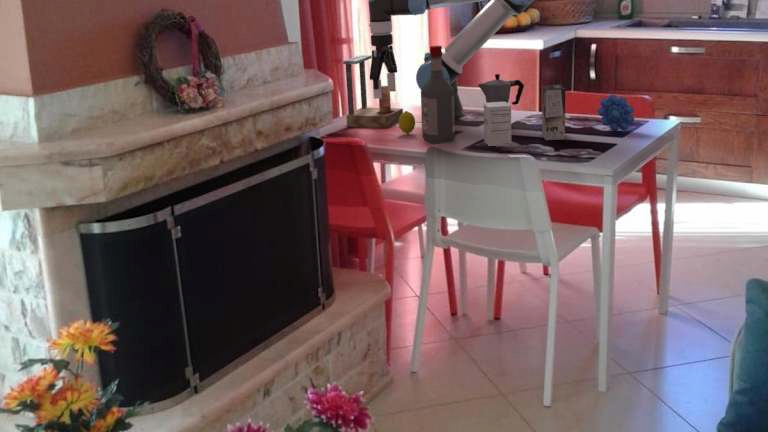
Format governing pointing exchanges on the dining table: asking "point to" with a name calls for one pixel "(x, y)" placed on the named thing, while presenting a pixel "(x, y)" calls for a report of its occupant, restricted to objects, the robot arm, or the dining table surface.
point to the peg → (385, 100)
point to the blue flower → (616, 112)
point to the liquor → (437, 103)
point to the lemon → (406, 122)
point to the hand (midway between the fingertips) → (385, 94)
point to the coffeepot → (500, 90)
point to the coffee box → (553, 112)
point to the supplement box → (497, 123)
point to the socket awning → (364, 114)
